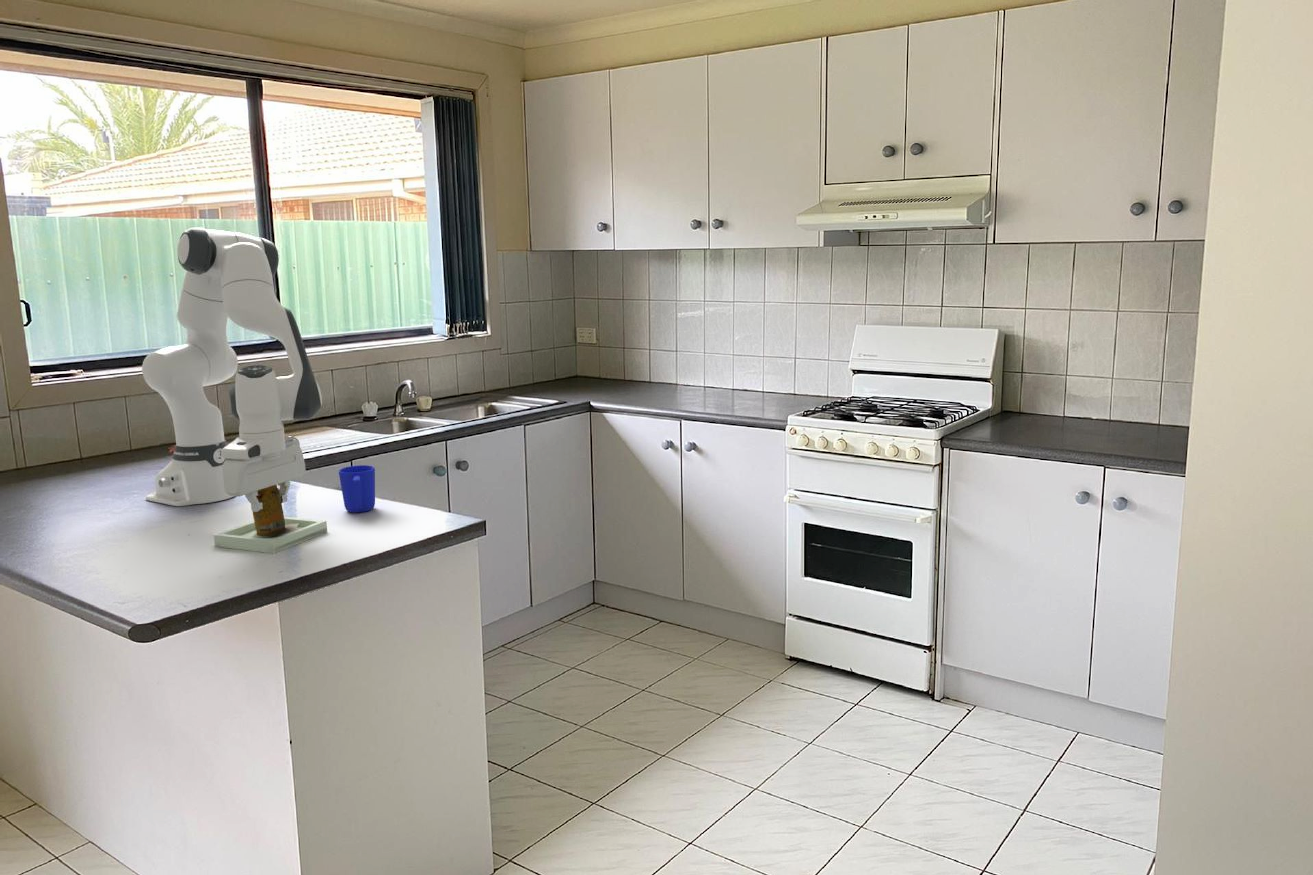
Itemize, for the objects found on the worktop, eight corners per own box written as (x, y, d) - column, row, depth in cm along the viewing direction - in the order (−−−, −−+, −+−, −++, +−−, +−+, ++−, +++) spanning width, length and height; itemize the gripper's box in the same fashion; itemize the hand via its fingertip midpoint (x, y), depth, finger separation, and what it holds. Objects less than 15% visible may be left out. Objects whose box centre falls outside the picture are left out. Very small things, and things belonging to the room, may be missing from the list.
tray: (215, 546, 210) (213, 534, 210) (270, 525, 225) (269, 515, 224) (273, 553, 204) (272, 541, 203) (327, 531, 218) (326, 520, 218)
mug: (341, 520, 228) (337, 477, 226) (342, 507, 239) (339, 466, 237) (378, 516, 230) (374, 474, 228) (378, 504, 241) (374, 463, 239)
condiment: (259, 528, 218) (250, 475, 215) (299, 524, 219) (290, 471, 216) (250, 539, 211) (240, 485, 208) (291, 534, 212) (282, 481, 209)
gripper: (286, 433, 221) (292, 493, 224) (214, 452, 202) (222, 517, 205) (309, 434, 219) (315, 495, 221) (238, 453, 200) (245, 520, 203)
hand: (269, 506), depth 213 cm, fingers closed on condiment, 6 cm apart
